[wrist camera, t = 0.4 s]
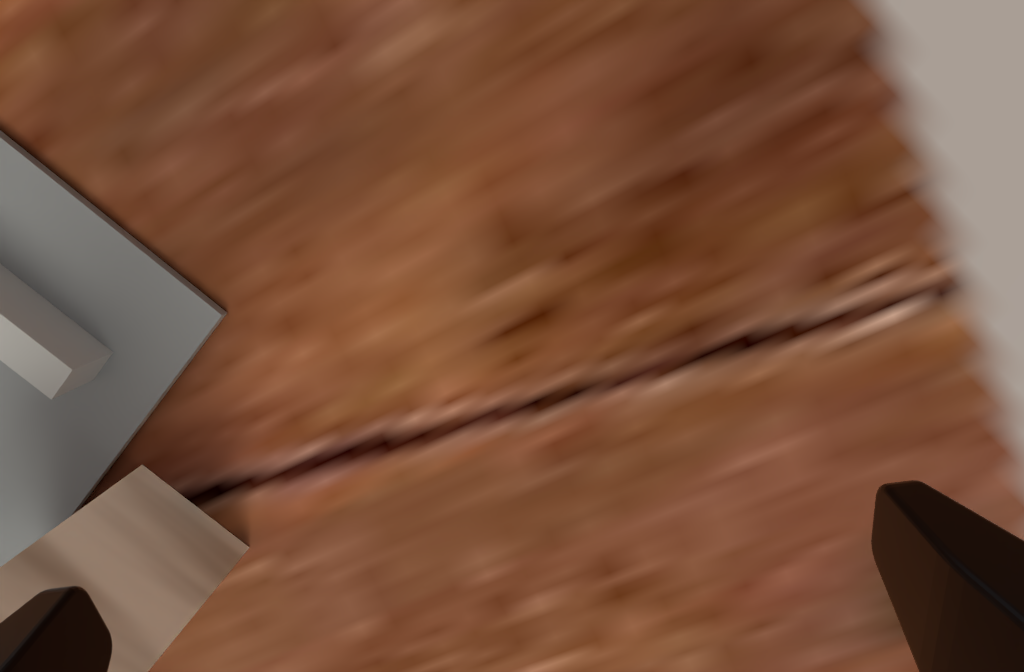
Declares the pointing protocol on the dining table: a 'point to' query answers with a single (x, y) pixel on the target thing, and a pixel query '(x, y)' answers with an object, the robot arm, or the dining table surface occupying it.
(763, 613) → the dining table surface
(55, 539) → the link block
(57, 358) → the keeper bracket
